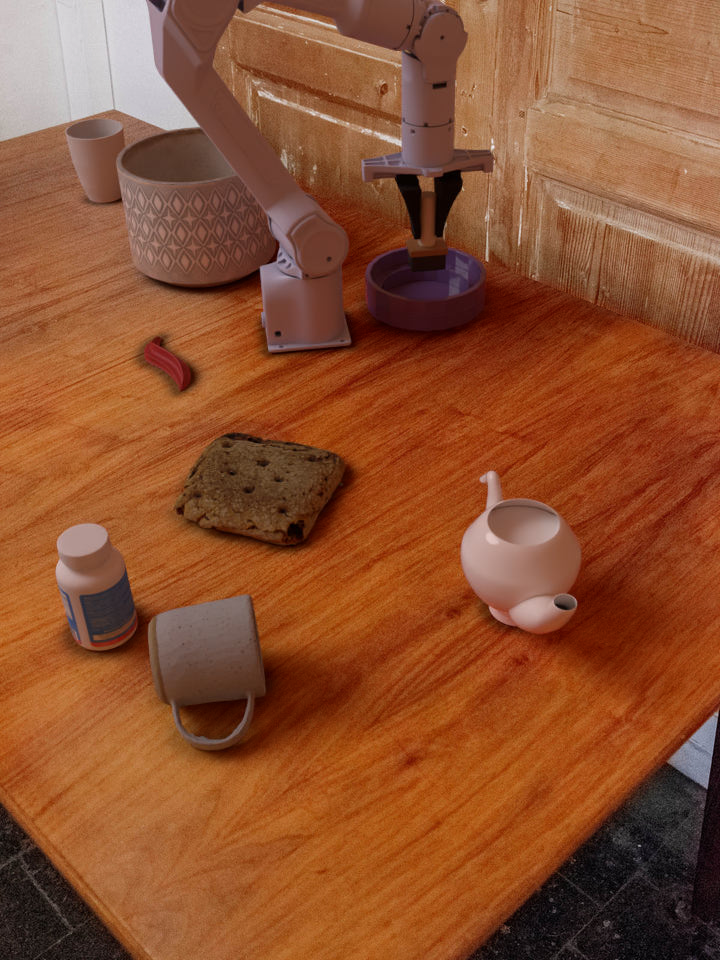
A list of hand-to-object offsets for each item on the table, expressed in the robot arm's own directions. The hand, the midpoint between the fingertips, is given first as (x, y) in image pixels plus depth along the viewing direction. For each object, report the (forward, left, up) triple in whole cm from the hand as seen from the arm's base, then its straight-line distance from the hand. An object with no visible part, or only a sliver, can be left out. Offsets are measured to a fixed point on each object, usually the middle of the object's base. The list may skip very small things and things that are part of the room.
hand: (426, 234), depth 126 cm
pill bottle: (-36, -49, -10) cm, 61 cm away
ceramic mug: (-27, -58, -10) cm, 64 cm away
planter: (-26, +17, -10) cm, 33 cm away
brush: (0, 0, -4) cm, 4 cm away
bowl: (0, 0, -9) cm, 9 cm away
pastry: (-22, -33, -10) cm, 41 cm away
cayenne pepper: (-31, -8, -10) cm, 33 cm away
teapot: (-2, -52, -10) cm, 53 cm away
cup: (-40, +41, -10) cm, 58 cm away
